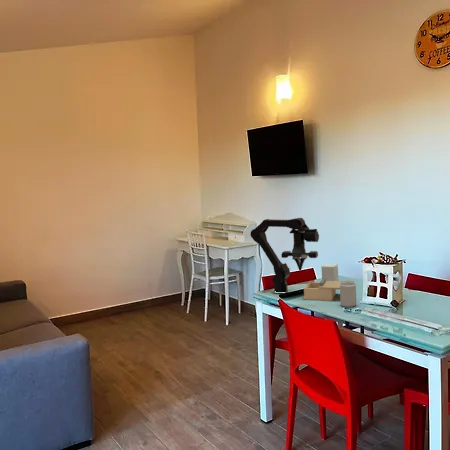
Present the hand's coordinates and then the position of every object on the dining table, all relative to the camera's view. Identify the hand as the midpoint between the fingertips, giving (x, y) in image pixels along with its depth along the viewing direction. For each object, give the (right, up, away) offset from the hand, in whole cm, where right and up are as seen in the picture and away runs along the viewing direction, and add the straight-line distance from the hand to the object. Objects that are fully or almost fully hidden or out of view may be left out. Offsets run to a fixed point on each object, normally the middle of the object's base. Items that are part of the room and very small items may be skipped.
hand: (300, 270), depth 256 cm
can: (+19, -15, -25) cm, 35 cm away
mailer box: (+10, -13, -6) cm, 17 cm away
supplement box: (+19, -11, +12) cm, 25 cm away
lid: (+16, -7, -10) cm, 20 cm away
